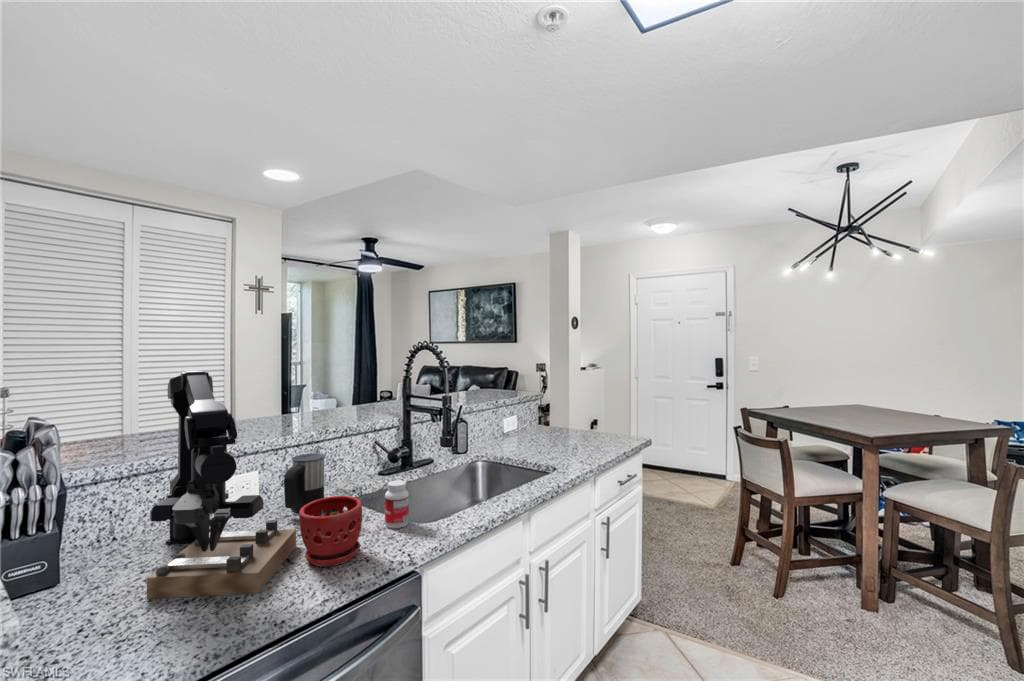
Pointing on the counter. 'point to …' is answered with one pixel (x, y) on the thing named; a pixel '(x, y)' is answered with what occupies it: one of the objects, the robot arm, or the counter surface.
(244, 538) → the strap
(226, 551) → the block
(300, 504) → the milk frother
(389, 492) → the pill bottle
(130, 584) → the counter surface
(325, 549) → the plant pot
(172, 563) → the strap
